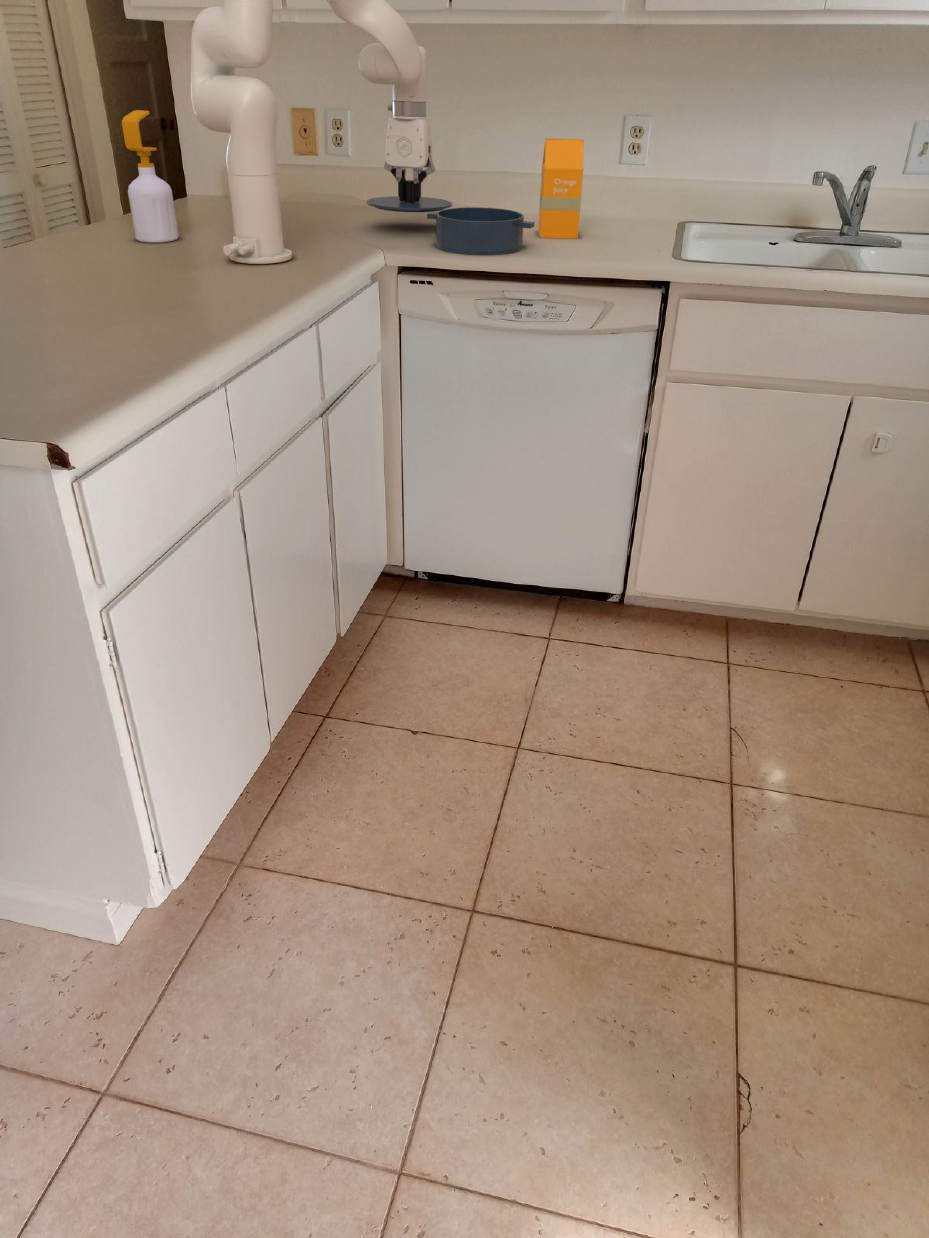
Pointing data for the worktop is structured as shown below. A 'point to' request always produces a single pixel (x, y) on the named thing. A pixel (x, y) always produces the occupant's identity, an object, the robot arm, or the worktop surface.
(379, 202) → the lid
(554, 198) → the orange juice
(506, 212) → the pot
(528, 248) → the worktop surface
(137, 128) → the soap bottle
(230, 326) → the worktop surface
